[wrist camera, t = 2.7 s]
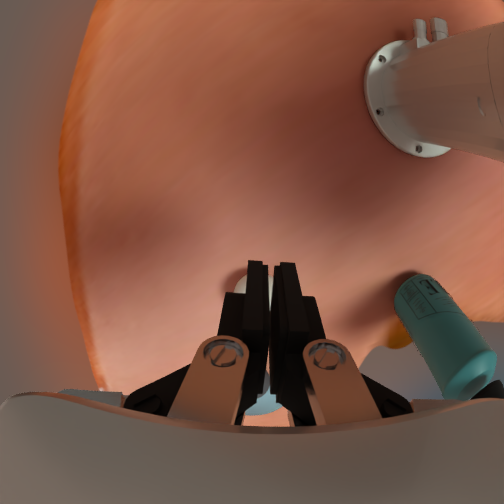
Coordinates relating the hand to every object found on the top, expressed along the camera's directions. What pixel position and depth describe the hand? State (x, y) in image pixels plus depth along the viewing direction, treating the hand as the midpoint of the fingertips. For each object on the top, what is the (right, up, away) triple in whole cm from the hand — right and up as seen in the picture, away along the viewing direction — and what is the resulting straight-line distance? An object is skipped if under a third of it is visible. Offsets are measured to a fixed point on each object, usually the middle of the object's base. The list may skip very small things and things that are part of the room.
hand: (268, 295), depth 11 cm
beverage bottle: (+19, -3, +20) cm, 28 cm away
